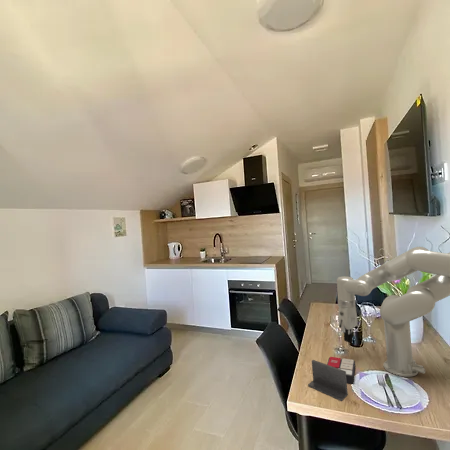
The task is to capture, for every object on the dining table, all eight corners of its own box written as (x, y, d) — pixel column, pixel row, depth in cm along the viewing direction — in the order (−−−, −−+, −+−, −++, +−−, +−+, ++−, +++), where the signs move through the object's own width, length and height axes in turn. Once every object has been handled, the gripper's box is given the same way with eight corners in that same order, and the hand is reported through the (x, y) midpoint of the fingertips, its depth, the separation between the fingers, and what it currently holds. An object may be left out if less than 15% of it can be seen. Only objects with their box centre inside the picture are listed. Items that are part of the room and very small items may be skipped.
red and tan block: (354, 359, 124) (352, 374, 111) (355, 368, 124) (353, 385, 110) (329, 355, 129) (324, 369, 116) (329, 364, 129) (325, 380, 115)
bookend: (347, 395, 104) (345, 371, 104) (341, 401, 101) (339, 376, 101) (314, 381, 115) (313, 359, 115) (308, 386, 112) (306, 364, 112)
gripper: (346, 308, 123) (348, 349, 123) (361, 300, 132) (363, 338, 133) (331, 305, 128) (332, 344, 129) (346, 298, 138) (347, 334, 138)
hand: (348, 341), depth 131 cm, fingers closed
